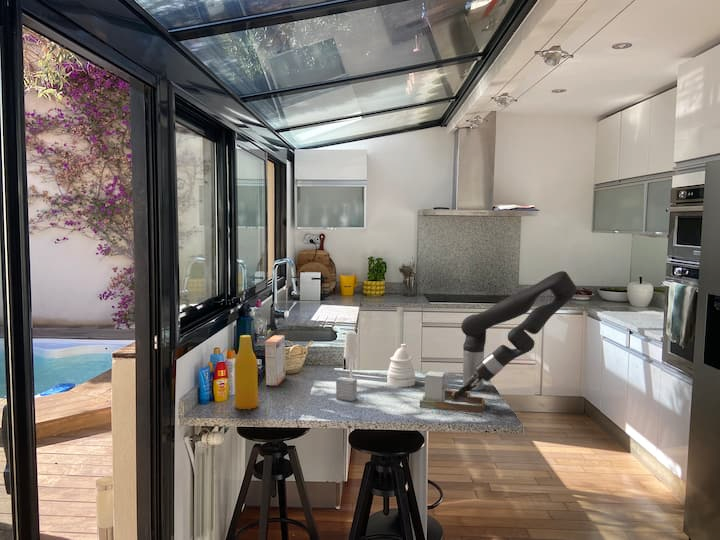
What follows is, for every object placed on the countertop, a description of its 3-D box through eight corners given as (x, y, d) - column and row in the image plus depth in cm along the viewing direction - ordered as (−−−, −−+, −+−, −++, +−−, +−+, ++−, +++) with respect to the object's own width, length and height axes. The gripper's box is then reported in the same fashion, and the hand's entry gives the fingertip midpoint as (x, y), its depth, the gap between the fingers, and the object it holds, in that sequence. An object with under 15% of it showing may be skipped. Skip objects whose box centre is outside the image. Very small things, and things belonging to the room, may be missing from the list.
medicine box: (357, 398, 236) (357, 378, 236) (352, 401, 232) (352, 381, 232) (340, 396, 240) (340, 376, 239) (335, 399, 236) (335, 379, 235)
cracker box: (273, 377, 269) (273, 334, 267) (285, 378, 268) (285, 335, 266) (264, 385, 255) (264, 340, 253) (277, 386, 254) (277, 341, 253)
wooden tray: (427, 394, 242) (427, 388, 242) (485, 399, 235) (485, 393, 235) (419, 406, 226) (419, 400, 225) (482, 412, 219) (482, 406, 218)
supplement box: (441, 407, 225) (442, 376, 224) (424, 405, 228) (424, 375, 227) (445, 401, 232) (445, 372, 231) (428, 399, 235) (428, 370, 234)
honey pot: (396, 377, 269) (396, 341, 267) (419, 382, 261) (420, 344, 260) (381, 383, 258) (382, 345, 257) (405, 388, 251) (405, 349, 249)
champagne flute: (360, 385, 256) (360, 333, 254) (345, 386, 254) (345, 334, 252) (355, 381, 263) (355, 331, 261) (342, 382, 261) (342, 331, 259)
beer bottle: (250, 411, 220) (249, 339, 218) (230, 408, 223) (229, 337, 221) (262, 404, 229) (261, 334, 227) (242, 401, 232) (241, 333, 230)
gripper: (495, 378, 215) (463, 406, 220) (497, 369, 228) (466, 396, 232) (481, 363, 216) (449, 391, 221) (484, 356, 229) (454, 382, 233)
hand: (458, 394), depth 227 cm, fingers closed
